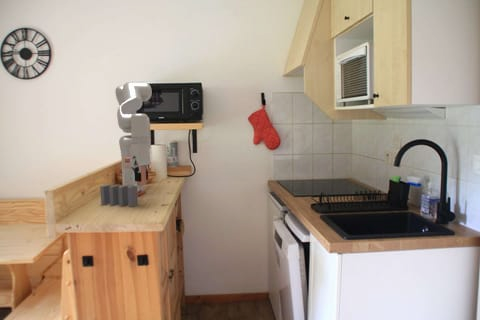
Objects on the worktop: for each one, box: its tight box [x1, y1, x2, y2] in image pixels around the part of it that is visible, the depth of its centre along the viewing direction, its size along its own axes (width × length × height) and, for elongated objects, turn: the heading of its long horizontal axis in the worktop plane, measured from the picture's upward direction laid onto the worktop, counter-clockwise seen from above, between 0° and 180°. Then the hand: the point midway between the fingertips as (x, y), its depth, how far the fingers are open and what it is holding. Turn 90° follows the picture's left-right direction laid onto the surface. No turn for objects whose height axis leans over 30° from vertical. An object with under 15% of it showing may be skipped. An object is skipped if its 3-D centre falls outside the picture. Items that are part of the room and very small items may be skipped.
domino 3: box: [118, 185, 128, 207], centre depth 172 cm, size 2×5×9 cm, turn 163°
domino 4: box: [127, 186, 139, 208], centre depth 170 cm, size 2×5×9 cm, turn 163°
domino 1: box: [99, 184, 111, 206], centre depth 175 cm, size 2×5×9 cm, turn 163°
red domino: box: [137, 165, 148, 186], centre depth 168 cm, size 2×5×9 cm, turn 163°
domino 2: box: [109, 184, 120, 207], centre depth 173 cm, size 2×5×9 cm, turn 163°
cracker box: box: [123, 157, 147, 197], centre depth 195 cm, size 14×6×21 cm, turn 168°
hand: (141, 180), depth 168 cm, fingers closed on red domino, 4 cm apart
